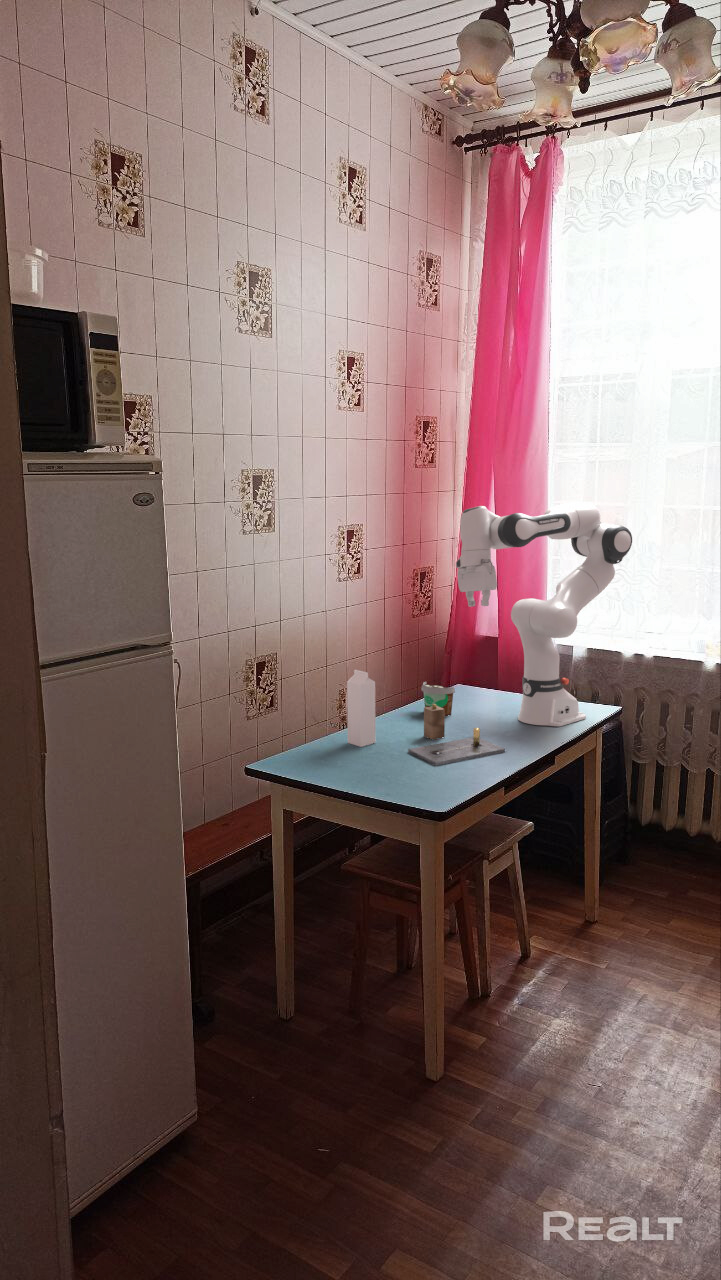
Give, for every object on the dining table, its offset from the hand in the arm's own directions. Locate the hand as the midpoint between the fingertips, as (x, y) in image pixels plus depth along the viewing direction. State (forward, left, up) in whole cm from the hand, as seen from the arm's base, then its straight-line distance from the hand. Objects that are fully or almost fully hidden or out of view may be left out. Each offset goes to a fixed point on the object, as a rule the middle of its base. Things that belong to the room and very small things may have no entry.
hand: (478, 606), depth 271 cm
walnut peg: (+14, -2, -39) cm, 42 cm away
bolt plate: (+17, +14, -39) cm, 45 cm away
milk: (+36, -8, -40) cm, 54 cm away
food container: (0, -23, -40) cm, 46 cm away
